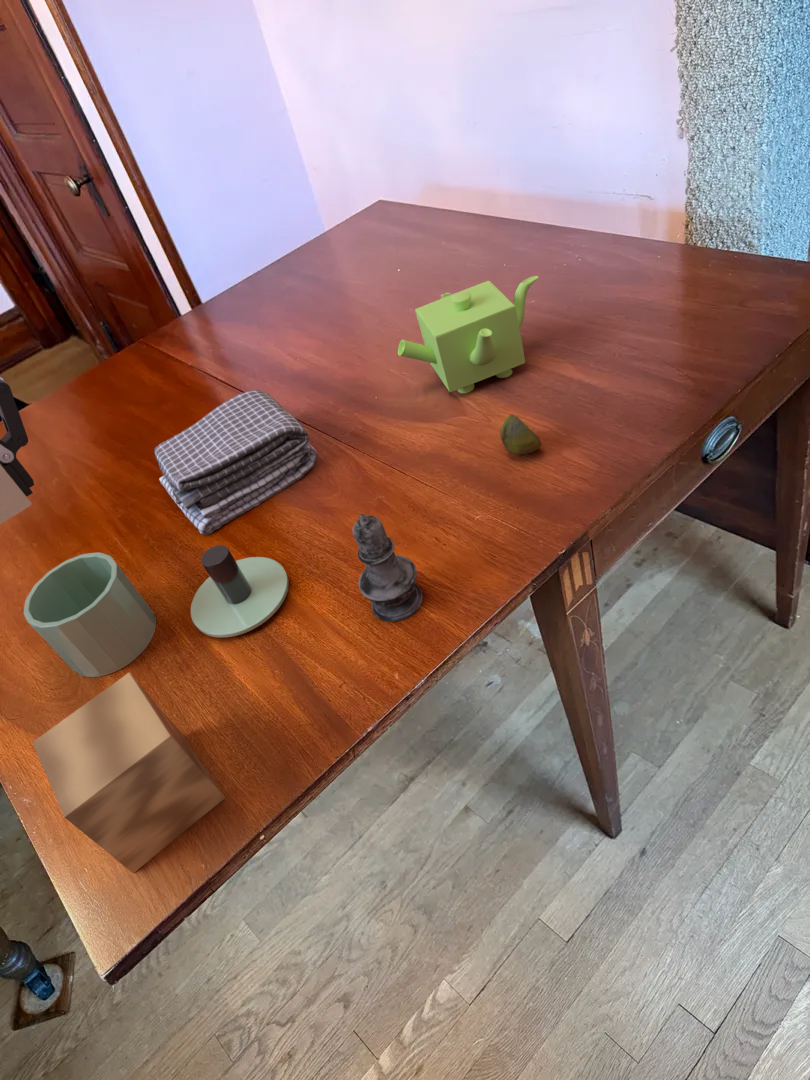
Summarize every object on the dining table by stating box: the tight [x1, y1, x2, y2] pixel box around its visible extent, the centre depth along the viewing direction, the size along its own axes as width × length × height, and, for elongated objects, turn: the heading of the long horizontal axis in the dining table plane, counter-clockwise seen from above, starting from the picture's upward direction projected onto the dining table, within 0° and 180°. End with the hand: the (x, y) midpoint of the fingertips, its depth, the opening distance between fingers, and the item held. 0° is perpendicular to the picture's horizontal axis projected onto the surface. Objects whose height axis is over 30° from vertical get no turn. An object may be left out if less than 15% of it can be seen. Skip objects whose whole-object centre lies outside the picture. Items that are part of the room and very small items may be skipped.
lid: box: [190, 544, 290, 639], centre depth 78 cm, size 11×11×7 cm
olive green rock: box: [499, 413, 543, 455], centre depth 84 cm, size 4×5×5 cm
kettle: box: [397, 275, 539, 394], centre depth 97 cm, size 15×14×11 cm
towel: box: [154, 389, 318, 536], centre depth 95 cm, size 15×18×8 cm
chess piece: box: [352, 513, 424, 623], centre depth 71 cm, size 6×6×12 cm
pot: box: [23, 551, 157, 678], centre depth 79 cm, size 10×10×8 cm
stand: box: [31, 672, 226, 874], centre depth 62 cm, size 9×9×10 cm
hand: (1, 506), depth 68 cm, fingers closed on block, 4 cm apart
